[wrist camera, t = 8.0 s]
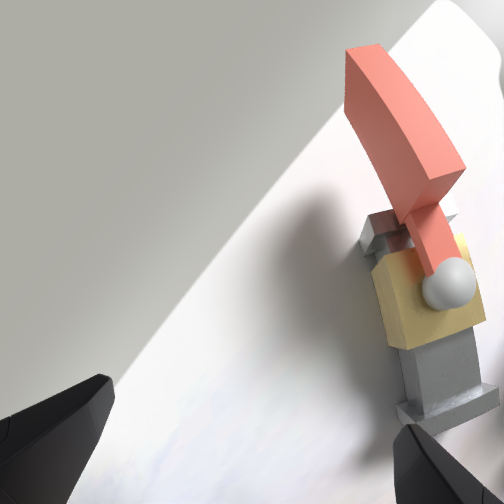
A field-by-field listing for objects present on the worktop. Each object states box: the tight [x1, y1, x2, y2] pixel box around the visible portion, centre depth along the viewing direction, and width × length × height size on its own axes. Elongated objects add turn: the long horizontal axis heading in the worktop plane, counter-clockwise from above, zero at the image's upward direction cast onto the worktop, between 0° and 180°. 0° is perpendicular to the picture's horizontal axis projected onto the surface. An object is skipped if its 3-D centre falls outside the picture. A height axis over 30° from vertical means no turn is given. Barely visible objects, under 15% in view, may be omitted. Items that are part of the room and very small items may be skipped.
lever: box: [344, 44, 476, 311], centre depth 13 cm, size 13×2×5 cm, turn 16°
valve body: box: [359, 195, 500, 436], centre depth 17 cm, size 13×6×5 cm, turn 12°
